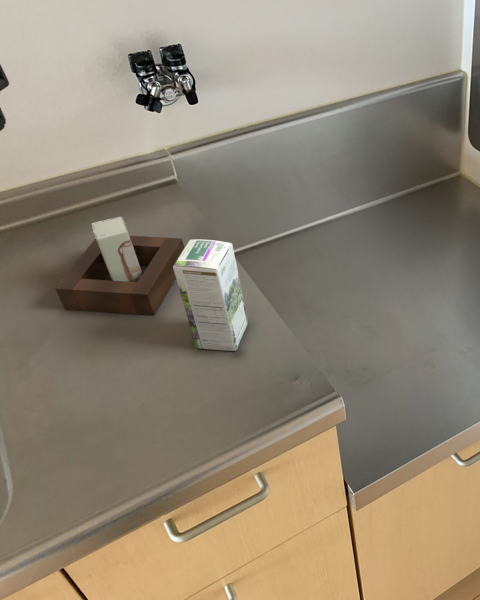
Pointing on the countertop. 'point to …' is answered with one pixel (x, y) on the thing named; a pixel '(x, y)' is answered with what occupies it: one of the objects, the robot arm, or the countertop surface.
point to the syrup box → (212, 294)
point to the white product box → (117, 250)
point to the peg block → (119, 294)
